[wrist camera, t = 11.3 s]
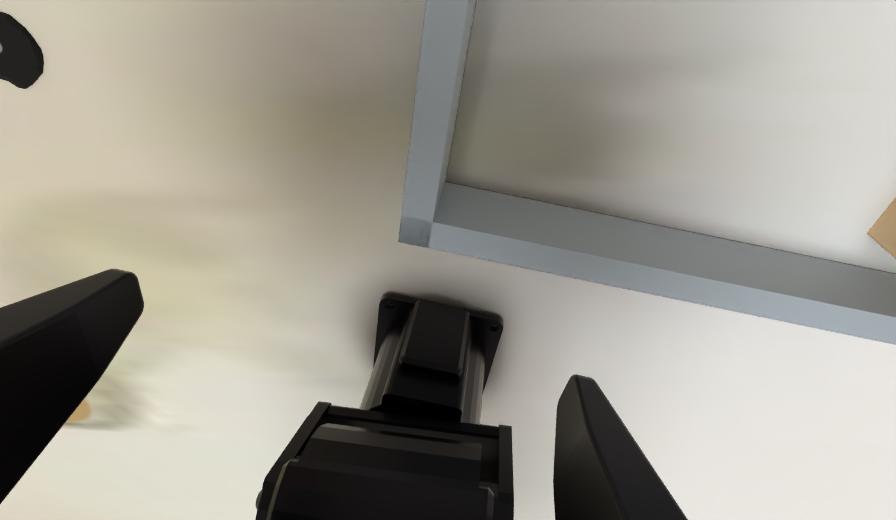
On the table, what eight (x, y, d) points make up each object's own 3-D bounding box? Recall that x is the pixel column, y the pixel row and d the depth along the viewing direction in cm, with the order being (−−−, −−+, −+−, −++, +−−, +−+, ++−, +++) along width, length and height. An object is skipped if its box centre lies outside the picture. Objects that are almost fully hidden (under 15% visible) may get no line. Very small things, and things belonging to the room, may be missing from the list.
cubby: (903, 300, 21) (963, 358, 18) (415, 200, 21) (398, 241, 18) (1392, -207, 11) (1684, -255, 8) (491, -376, 12) (481, -474, 9)
